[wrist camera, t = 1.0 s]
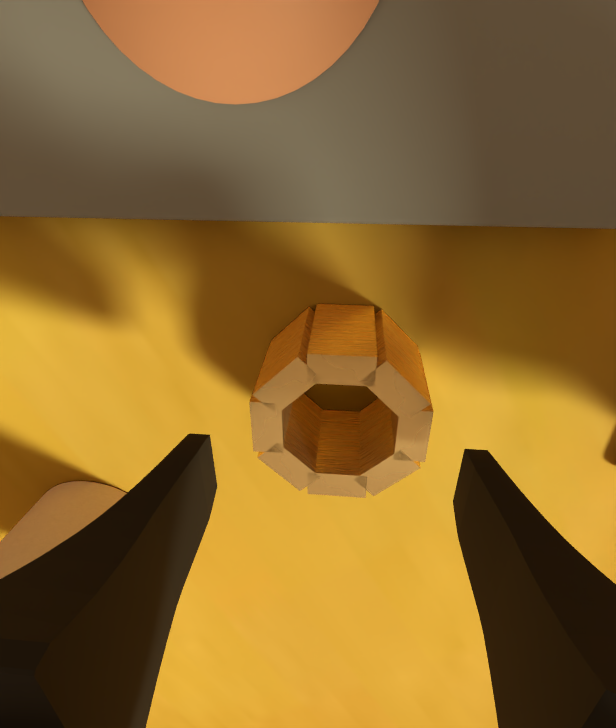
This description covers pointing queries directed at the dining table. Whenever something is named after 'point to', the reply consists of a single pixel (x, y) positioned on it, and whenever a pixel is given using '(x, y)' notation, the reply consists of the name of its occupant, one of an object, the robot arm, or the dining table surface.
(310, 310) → the wooden collar
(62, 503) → the coffee cup
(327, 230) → the dining table surface
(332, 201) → the post board
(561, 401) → the dining table surface
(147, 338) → the dining table surface
